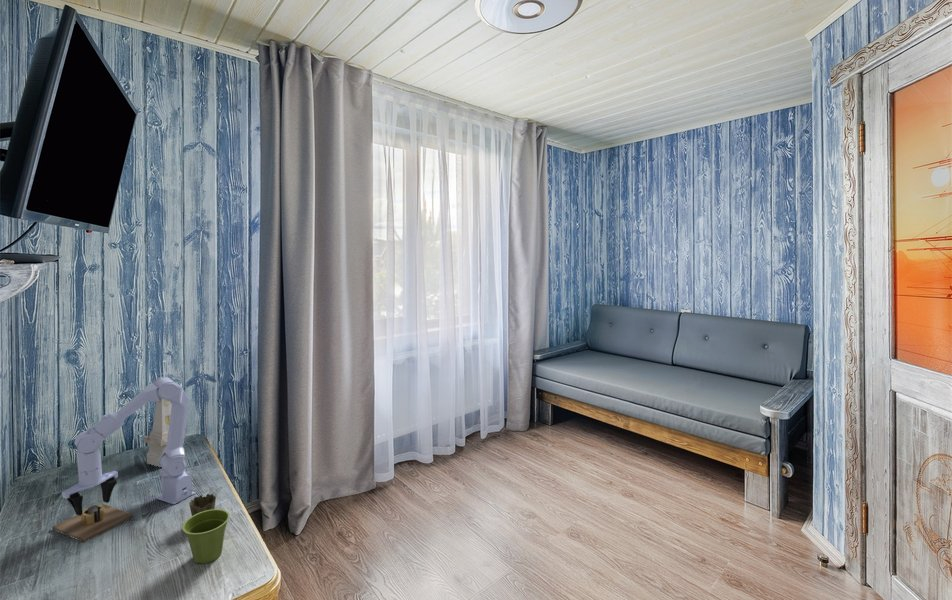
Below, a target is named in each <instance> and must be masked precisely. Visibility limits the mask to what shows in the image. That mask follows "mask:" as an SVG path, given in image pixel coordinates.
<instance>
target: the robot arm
mask: <svg viewBox="0 0 952 600" xmlns="http://www.w3.org/2000/svg"><path fill="white" fill-rule="evenodd" d="M159 397H161V398H162V399H164V400H168V401H170V402H171V405H172V408H171V416H170V423H169V430H168V438H167V445H166V447H165V449H164V451H163V455H162V456H161V458H160V460H159V465H160V466H161V467H162V468H161V469H162V471H161V474H160V478H161V479H160V480H161V481H160V482H161V483H160V484H161V494H160V495H158V496H156V497H155V499H156V500H159V501H162V502H165V503H167V504H171V505H175V504H179V503H180V502H182V501H183V500H186V499H188V498H189V497H191V496H192V495H194V494H195V493H196V492H195V491H193V480H192V477H191V476H190V475H189V474H187V472H186V468H187V462H186V453H185V454H184V450H183V448H184V441H185V437H184V436H185V431H186V428H187V422H188V421H187V419H188V412H189V405H190V398H189V396H188V395H187V393H186V391H185V390H184V388H183V386H181V385H180V384H178V383H177V382H176V381H175V380H173V379H171V378H169V377H167V376H160V377H158V378H156V379H154V381H153V382H150V383H149V384H148V385H146V386H145V387H144V388H143V389H142V390H141V391H140V392H139V393H138V394H136V395H135V396H134V397H133V398H131V400H129V401H128V402H127V403H126V404H125V405H123V407H121V408H119V410H118V411H116V412H109V413H108V414H104V415H101V417H100V420H99V421H98V422H96V423H95V424H94V425H92V426H91V427H87V428H86V430H85V431H82V432H80V433H79V434H78V435H77V436H76V437H75V439H74V442H73V443H74V446H75V447H76V448H77V451H76V455H77V457H76V461H77V462H76V463H77V464H76V465H77V472H78V473H77V474H78V482H77V483H76V484H74V485H72V486H71V487H69V488H67V489H65V490H63V491H61V498H63V499H65V500H67V502H68V503H69V504H70V505H71V507H72V508H73V509H74V513H75V516H77V515H79V516H80V515H82V512H83V500H84V496H83V495H81V493H82V492H83V491H86V490H88V489H91V488H94V487H96V486H99V485H100V487H101V495H102V497H101V498H102V501H103V502H104V503H110V500H111V495H112V493H113V489H114V488H115V486H116V485H117V483H118V481H117V478H119V473H118V471H116V470H111V471H108V472H106V473H103V469H102V467H103V466H102V454H101V453H102V452H101V451H100V448H101V446H102V444H103V441H105V440H106V439H108V438H109V437H111V435H113V434H114V433H115V432H116V431H118V429H120V428H121V427H123V426H124V425H125V420H126V419H127V418H128V417H130V416H131V415H132V414H134V413H135V412H136V411H138V410H139V409H141V408H142V407H144V406H145V405H146V404H147V403H153V402H156V401H160V400H159ZM184 457H185V459H184Z"/></svg>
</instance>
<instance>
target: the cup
mask: <svg viewBox="0 0 952 600" xmlns="http://www.w3.org/2000/svg"><path fill="white" fill-rule="evenodd" d="M216 500H217V497H216V495H214V494H213V493H212V494H209V493H207V494H206V495H205V496H203V495H202V494H200V495H199V496H195V497H194V498H193V499H191V500H190V501H189V508H190V510H189V511H190V513H191V517H192V516H193V515H195V514H197V513H200V512H203V511H206V510H212V509H216Z"/></svg>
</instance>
